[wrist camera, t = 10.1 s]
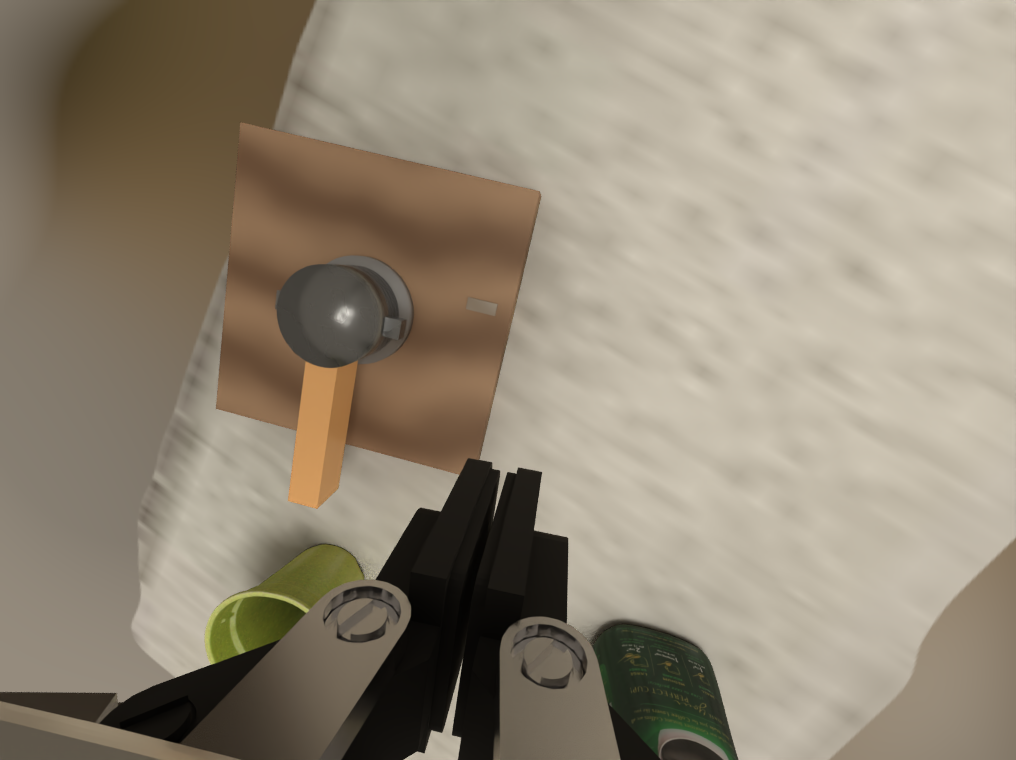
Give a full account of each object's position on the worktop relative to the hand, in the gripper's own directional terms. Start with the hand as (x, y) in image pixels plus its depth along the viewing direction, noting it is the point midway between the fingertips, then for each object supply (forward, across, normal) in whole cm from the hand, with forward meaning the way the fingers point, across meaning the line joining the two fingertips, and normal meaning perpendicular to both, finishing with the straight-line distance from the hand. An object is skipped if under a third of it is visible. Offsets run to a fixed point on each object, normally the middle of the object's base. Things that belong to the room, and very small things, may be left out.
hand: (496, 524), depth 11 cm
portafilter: (+21, +13, +5) cm, 25 cm away
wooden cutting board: (+24, +13, 0) cm, 27 cm away
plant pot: (+23, +15, +23) cm, 36 cm away
